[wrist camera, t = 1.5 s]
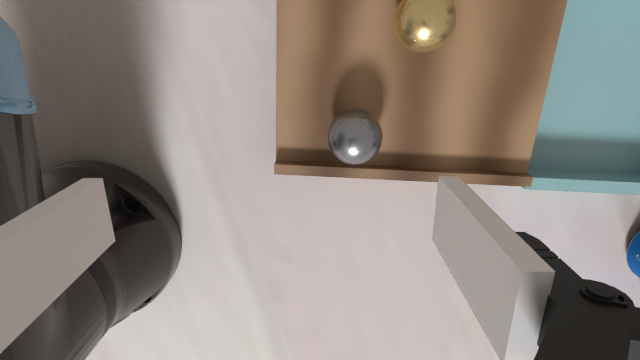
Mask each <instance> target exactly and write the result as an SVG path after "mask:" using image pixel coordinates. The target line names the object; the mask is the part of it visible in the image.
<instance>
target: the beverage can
mask: <svg viewBox="0 0 640 360" xmlns="http://www.w3.org/2000/svg"><path fill="white" fill-rule="evenodd" d="M627 263H628V266H629V268H630V269H631V270H632V272H633V273H634V274H636V275H637V276H638V277H639V278H640V231H639V232H638V233H637V234H636V235H635V236H634V238H633V239H632V241H631V242H630V244H629V247H628V250H627Z"/></svg>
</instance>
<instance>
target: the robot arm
mask: <svg viewBox="0 0 640 360" xmlns="http://www.w3.org/2000/svg"><path fill="white" fill-rule="evenodd" d="M36 112H37V105H36V102H35V101H34V100H33V99H32V98H31V97H30V92H29V87H28V83H27V78H26V73H25V68H24V63H23V58H22V54H21V49H20V44H19V41H18V39H17V37H16V35H15V33H14V31H13V30H12V28H11V27H10V26H9V25H8V23H7V22H6V21H5V20H4V19H2V18H1V17H0V360H85V359H86V358H87V357H88V355H89V354H90V353H91V351H92V350H93V349H94V347H95V346H96V345H97V343H98V342H99V341H100V340H101V338H102V337H103V336H104V334H105V333H106V332H107V331H108V329H109V328H111V327H113V326H114V325H116V324H117V323H119V322H121V321H122V320H124V319H125V318H127V317H128V316H129V315H130V314H131V313H133V312H135V311H138V310H139V309H141V308H143V307H144V306H146V305H148V304H149V303H150V302H152V301H153V300H154V299H155V298H156V297H157V296H158V295H159V294H160V293H161V292H162V290H163V289H164V288H165V286H166V285H167V283H168V282H169V280H170V279H171V277H172V276H173V274H174V273H175V271H176V268H177V266H178V263H179V259H180V254H181V238H180V232H179V228H178V225H177V222H176V220H175V217H174V215H173V213H172V212H171V210H170V208H169V207H168V205H167V203H166V202H165V201H164V199H163V198H162V197H161V196H160V195H159V194H158V193H157V192H156V191H155V190H154V189H153V188H152V187H151V186H150V185H149V184H148V183H146V182H145V181H144V180H142V179H141V178H139V177H138V176H136V175H134V174H133V173H131V172H129V171H127V170H125V169H122V168H120V167H117V166H114V165H111V164H107V163H102V162H96V161H76V162H70V163H65V164H62V165H59V166H57V167H54V168H52V169H50V170H48V171H46V172H43V173H41V169H40V163H39V156H38V149H37V142H36V136H35V129H34V122H33V115H32V114H33V113H36ZM432 240H433V241H434V243H435V245H436V247H437V249H438V250H439V252H440V254H441V256H442V257H443V259H444V261H445V263H446V265H447V266H448V268H449V270H450V272H451V273H452V275H453V277H454V279H455V281H456V282H457V284H458V286H459V288H460V289H461V291H462V293H463V295H464V297H465V298H466V300H467V302H468V304H469V305H470V307H471V309H472V311H473V313H474V314H475V316H476V318H477V320H478V322H479V323H480V325H481V327H482V329H483V330H484V332H485V334H486V336H487V338H488V339H489V341H490V343H491V345H492V346H493V348H494V350H495V352H496V354H497V355H498V357H499V359H500V360H640V308H638V307H635V306H634V303H633V301H632V300H631V299H630V298H629V297H628V296H627V295H626V294H625V293H623V292H621V291H620V290H618V289H616V288H615V287H612V286H610V285H607V284H605V283H602V282H597V281H593V280H585V279H582V278H581V277H580V276H579V275H578V274H577V273H575V272H574V271H573V270H572V269H571V268H570V267H569V266H568V265H567V264H566V263H564V262H563V261H562V260H561V259H558V256H557V255H556V254H555V253H553V252H552V251H550V249H549V248H548V247H547V246H546V245H545V244H544V243H543V242H541V241H540V240H539V239H537V238H535V237H533V236H531V235H529V234H527V233H525V232H514V231H513V230H512V229H511V228H510V227H509V226H508V225H507V224H506V223H505V222H504V221H503V220H502V219H501V218H500V217H499V216H498V215H497V214H496V213H495V212H494V211H493V210H492V209H491V208H490V207H489V206H488V205H487V204H486V203H485V202H484V201H483V200H482V199H481V198H480V197H479V196H478V195H477V194H476V193H475V192H474V191H473V190H472V189H471V188H470V187H469V186H468V185H467V184H466V183H465V182H464V181H463V180H462V179H461V178H460V177H459V176H439V180H438V189H437V199H436V209H435V218H434V228H433V238H432ZM538 346H539V349H538ZM537 349H538V351H537ZM536 353H537V354H536Z"/></svg>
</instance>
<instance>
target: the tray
mask: <svg viewBox="0 0 640 360" xmlns="http://www.w3.org/2000/svg"><path fill="white" fill-rule="evenodd" d="M527 173H528V174H530V175H531V176H533V181H532V185H531V187H526V186H521V187H523V188H524V189H533V190H554V191H574V192H594V193H614V194H634V195H640V0H567V5H566V9H565V13H564V18H563V22H562V26H561V30H560V35H559V39H558V43H557V48H556V52H555V56H554V60H553V65H552V69H551V73H550V77H549V82H548V86H547V90H546V95H545V99H544V103H543V107H542V112H541V116H540V120H539V125H538V129H537V133H536V137H535V142H534V146H533V150H532V155H531V159H530V163H529V167H528V172H527Z"/></svg>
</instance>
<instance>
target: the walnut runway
mask: <svg viewBox="0 0 640 360" xmlns="http://www.w3.org/2000/svg"><path fill="white" fill-rule="evenodd" d="M401 1H402V0H277V85H276V162H275V164H274V174H284V175H304V176H324V177H344V178H365V179H385V180H405V181H425V182H438V180H439V176H459V177H460V178H461V179H462V180H463V181H464V182H465V183H466V184H486V185H506V186H526V187H531V185H532V181H533V176H531V175H530V174H528V173H527V172H528V167H529V163H530V159H531V155H532V150H533V146H534V142H535V137H536V133H537V129H538V125H539V120H540V116H541V112H542V107H543V103H544V99H545V95H546V90H547V86H548V82H549V77H550V73H551V69H552V65H553V60H554V56H555V52H556V48H557V43H558V39H559V35H560V30H561V26H562V22H563V18H564V13H565V9H566V5H567V0H452V1H453V3H454V5H455V8H456V13H457V20H456V26H455V29H454V31H453V33H452V35H451V37H450V38H449V39H448V41H447V42H446V43H445V44H444V45H442V46H441V47H440V48H438V49H436V50H434V51H431V52H426V53H418V52H413V51H411V50H409V49H407V48H405V47H404V46H403V45H402V44H401V43H400V42H399V40H398V39H397V37H396V34H395V31H394V15H395V12H396V9H397V7H398V5H399V3H400V2H401ZM351 109H360V110H364V111H367V112H368V113H370V114H372V115H373V116H374V117H375V118H376V119H377V121H378V122H379V124H380V126H381V129H382V134H383V139H382V144H381V147H380V149H379V151H378V153H377V154H376V155H375V156H374V157H373V158H372V159H371V160H369V161H367V162H365V163H362V164H347V163H345V162H342V161H340V160H339V159H338V158H337V157H335V156H334V154H333V153H332V152H331V150H330V148H329V145H328V140H327V135H328V129H329V127H330V124H331V123H332V121H333V120H334V118H335V117H336V116H338V115H339V114H340V113H342V112H344V111H347V110H351Z"/></svg>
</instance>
